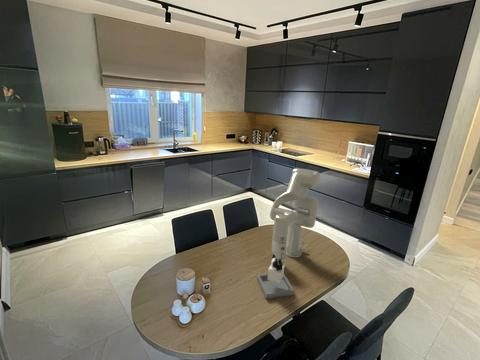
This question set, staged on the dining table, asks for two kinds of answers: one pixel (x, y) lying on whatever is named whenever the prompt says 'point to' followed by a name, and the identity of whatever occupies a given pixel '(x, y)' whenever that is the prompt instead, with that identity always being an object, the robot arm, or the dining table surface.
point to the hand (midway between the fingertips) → (276, 265)
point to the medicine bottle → (275, 272)
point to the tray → (274, 287)
